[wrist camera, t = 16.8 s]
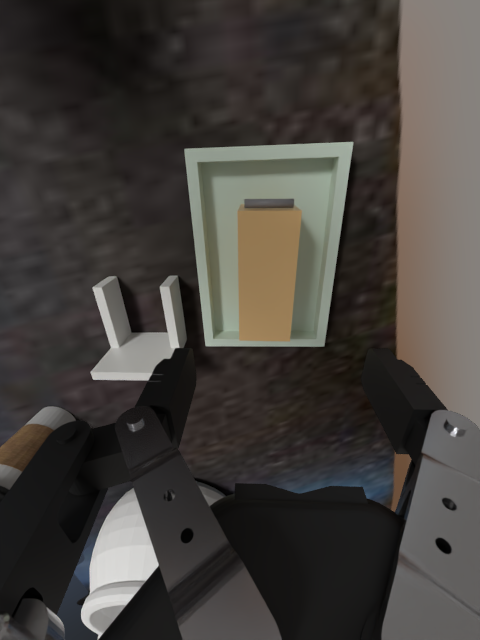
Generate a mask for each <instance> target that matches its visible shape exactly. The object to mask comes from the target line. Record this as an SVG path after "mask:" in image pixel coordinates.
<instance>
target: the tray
mask: <svg viewBox="0 0 480 640" xmlns="http://www.w3.org/2000/svg"><path fill="white" fill-rule="evenodd" d="M352 148H353V142H340V143H315V144H291V145H266V146H242V147H217V148H193V149H184V151H185V161H186V170H187V179H188V188H189V197H190V207H191V216H192V225H193V234H194V243H195V253H196V262H197V271H198V280H199V290H200V299H201V308H202V317H203V326H204V336H205V345H206V346H304V347H324V345H325V338H326V331H327V324H328V317H329V310H330V303H331V296H332V289H333V282H334V275H335V268H336V261H337V254H338V247H339V240H340V233H341V226H342V219H343V212H344V205H345V197H346V190H347V183H348V176H349V169H350V162H351V155H352ZM244 199H294V205H295V206H296V207H298V208H299V209H301V210H302V216H301V227H300V238H299V248H298V259H297V270H296V281H295V292H294V303H293V314H292V324H291V335H290V342H289V341H239V288H238V217H237V211H238V209H239V207H240V205H241V204H244Z"/></svg>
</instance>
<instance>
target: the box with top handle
mask: <svg viewBox="0 0 480 640" xmlns="http://www.w3.org/2000/svg"><path fill="white" fill-rule="evenodd" d="M301 216H302V210H301V209H299V208H298V207H296V206H295V205H294V199H244V204H241V205H240V207H239V209H238V211H237V217H238V288H239V341H289V342H290V335H291V324H292V314H293V303H294V292H295V281H296V270H297V259H298V248H299V238H300V227H301Z"/></svg>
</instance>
